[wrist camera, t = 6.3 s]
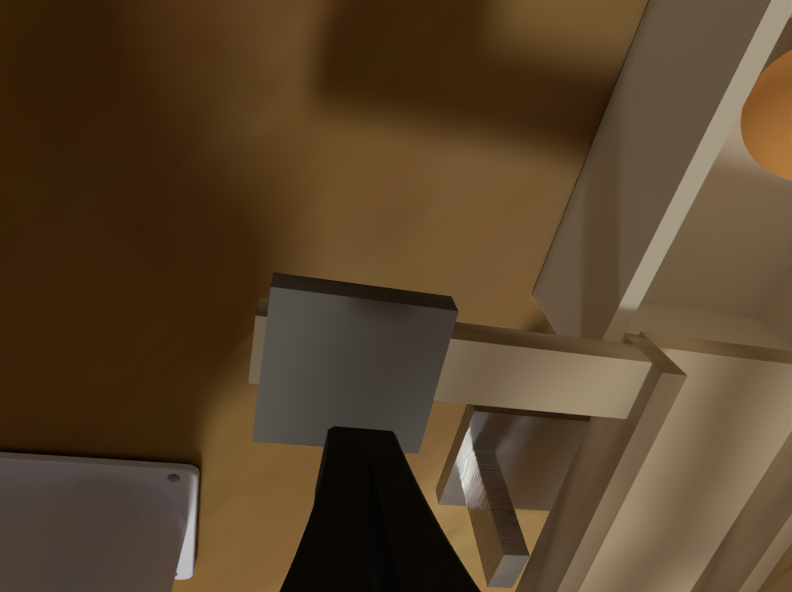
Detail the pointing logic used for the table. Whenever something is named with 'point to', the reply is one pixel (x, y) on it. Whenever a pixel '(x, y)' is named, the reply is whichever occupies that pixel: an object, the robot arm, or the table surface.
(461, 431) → the lever stand
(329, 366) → the lever
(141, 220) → the table surface
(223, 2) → the table surface
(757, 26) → the cream open box
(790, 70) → the ball
